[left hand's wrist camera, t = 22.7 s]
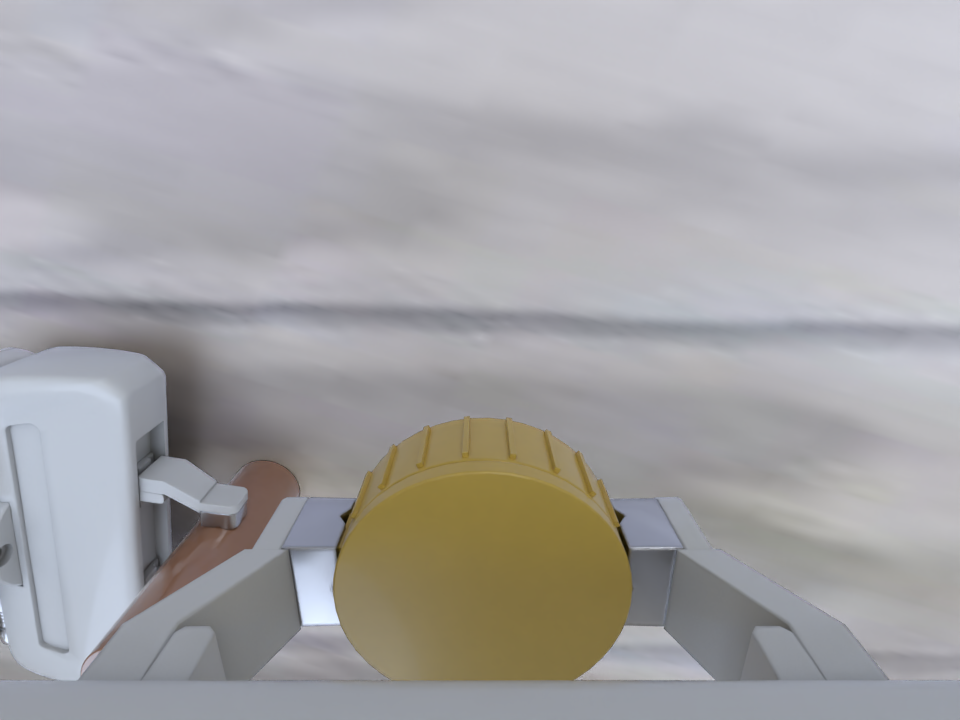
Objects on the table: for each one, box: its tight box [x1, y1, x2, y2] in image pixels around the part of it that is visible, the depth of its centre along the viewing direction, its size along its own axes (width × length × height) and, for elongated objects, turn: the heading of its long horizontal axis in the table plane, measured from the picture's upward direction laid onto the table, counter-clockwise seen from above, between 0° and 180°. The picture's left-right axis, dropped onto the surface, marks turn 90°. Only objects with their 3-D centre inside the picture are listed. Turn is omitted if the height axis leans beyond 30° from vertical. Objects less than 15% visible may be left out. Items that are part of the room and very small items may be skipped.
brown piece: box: [80, 460, 300, 677], centre depth 26 cm, size 4×4×15 cm
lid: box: [333, 416, 632, 681], centre depth 10 cm, size 5×5×2 cm
